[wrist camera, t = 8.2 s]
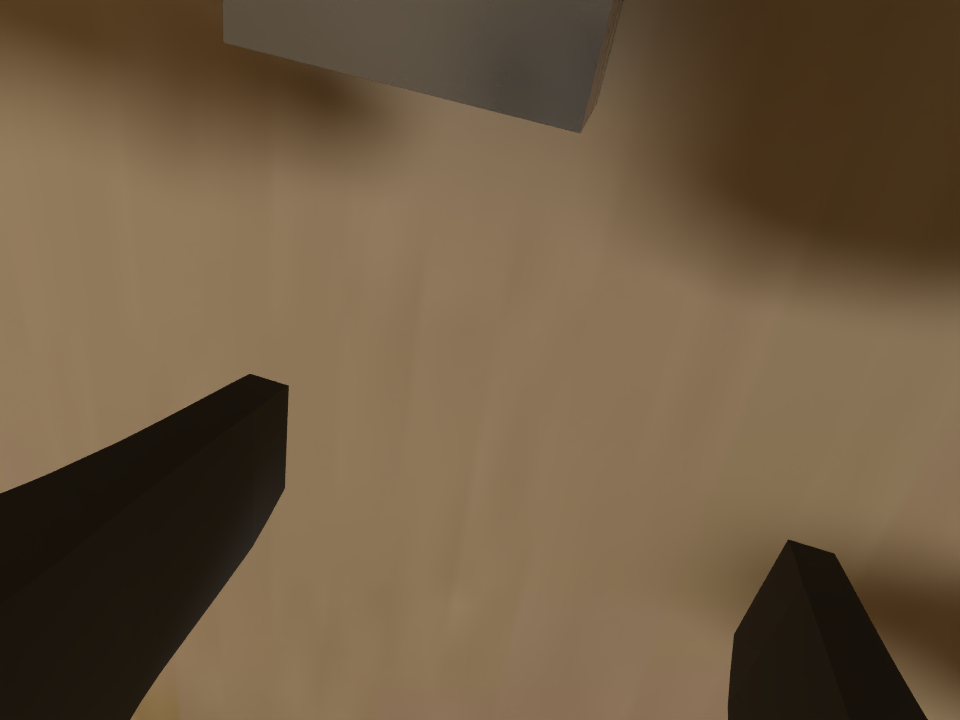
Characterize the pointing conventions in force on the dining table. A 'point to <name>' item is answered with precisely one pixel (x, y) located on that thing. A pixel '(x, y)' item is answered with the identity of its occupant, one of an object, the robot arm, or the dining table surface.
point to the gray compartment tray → (447, 47)
